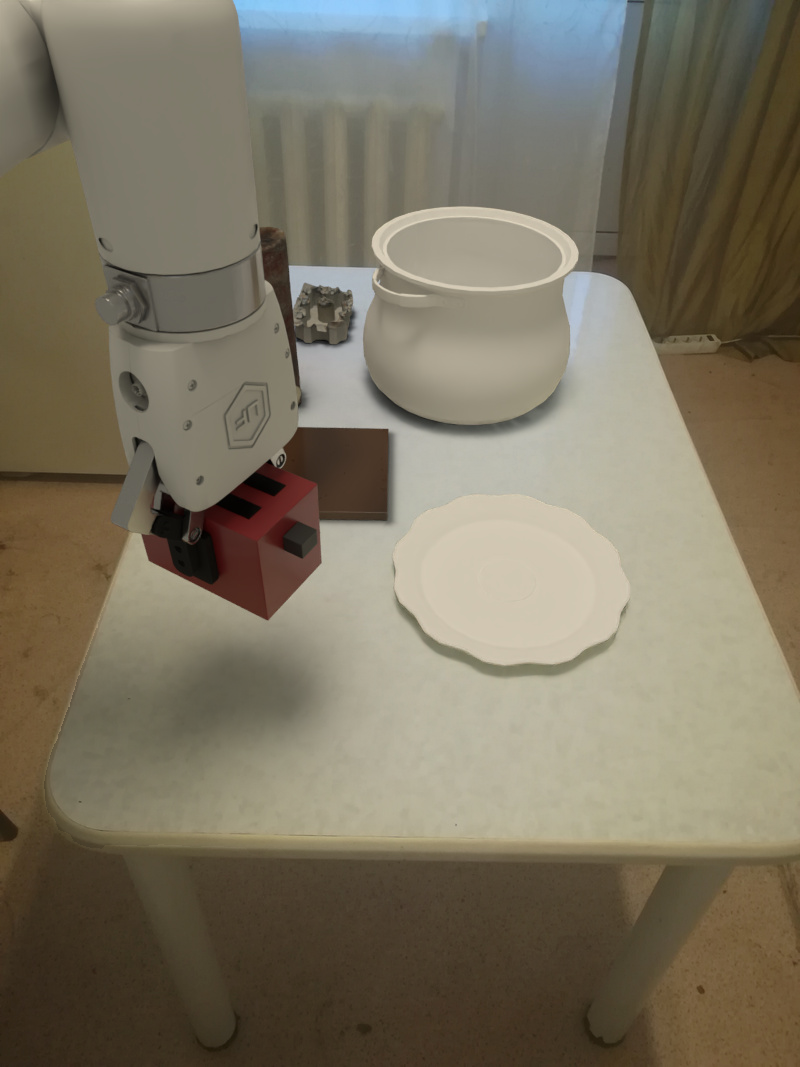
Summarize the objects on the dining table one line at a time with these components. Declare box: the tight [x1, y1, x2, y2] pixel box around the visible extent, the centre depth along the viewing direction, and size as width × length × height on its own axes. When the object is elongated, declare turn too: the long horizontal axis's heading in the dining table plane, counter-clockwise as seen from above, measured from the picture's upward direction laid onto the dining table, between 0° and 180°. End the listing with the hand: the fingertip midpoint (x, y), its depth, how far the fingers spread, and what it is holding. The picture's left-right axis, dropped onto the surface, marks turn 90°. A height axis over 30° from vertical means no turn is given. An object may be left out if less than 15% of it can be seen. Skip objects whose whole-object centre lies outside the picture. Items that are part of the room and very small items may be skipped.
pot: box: [362, 206, 580, 426], centre depth 87 cm, size 26×24×17 cm
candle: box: [259, 226, 302, 405], centre depth 81 cm, size 8×7×20 cm
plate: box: [391, 493, 631, 667], centre depth 68 cm, size 21×21×2 cm
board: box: [281, 426, 390, 521], centre depth 78 cm, size 16×14×1 cm
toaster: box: [140, 463, 323, 622], centre depth 48 cm, size 6×11×7 cm, turn 60°
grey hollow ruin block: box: [293, 282, 354, 345], centre depth 101 cm, size 11×8×4 cm
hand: (231, 539), depth 49 cm, fingers closed on toaster, 6 cm apart
